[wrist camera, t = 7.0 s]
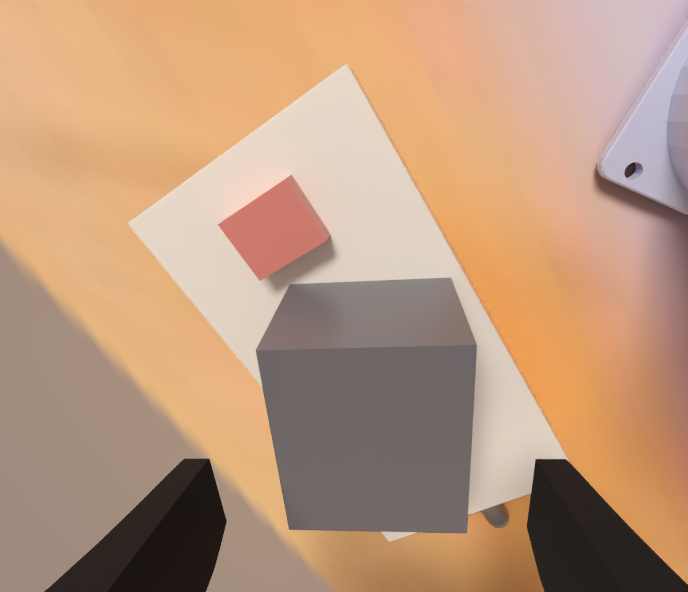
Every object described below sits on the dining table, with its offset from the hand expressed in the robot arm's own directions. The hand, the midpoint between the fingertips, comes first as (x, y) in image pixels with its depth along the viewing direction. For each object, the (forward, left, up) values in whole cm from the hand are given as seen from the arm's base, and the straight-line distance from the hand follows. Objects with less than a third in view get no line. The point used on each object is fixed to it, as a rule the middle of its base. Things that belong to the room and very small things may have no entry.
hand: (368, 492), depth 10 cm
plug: (0, 0, -7) cm, 7 cm away
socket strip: (-1, +1, -8) cm, 8 cm away
